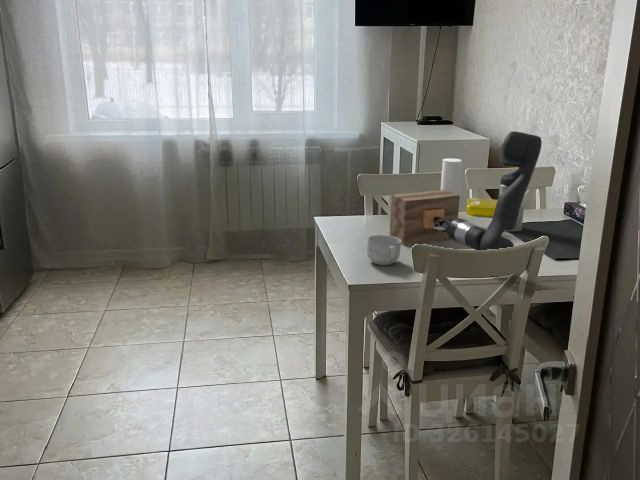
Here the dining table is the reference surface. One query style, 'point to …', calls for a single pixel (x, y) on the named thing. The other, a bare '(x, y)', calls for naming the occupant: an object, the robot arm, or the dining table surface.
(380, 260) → the teacup
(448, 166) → the cylindrical container
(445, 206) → the wooden box
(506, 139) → the robot arm
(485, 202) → the element tile
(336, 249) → the dining table surface
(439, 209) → the light brown block
